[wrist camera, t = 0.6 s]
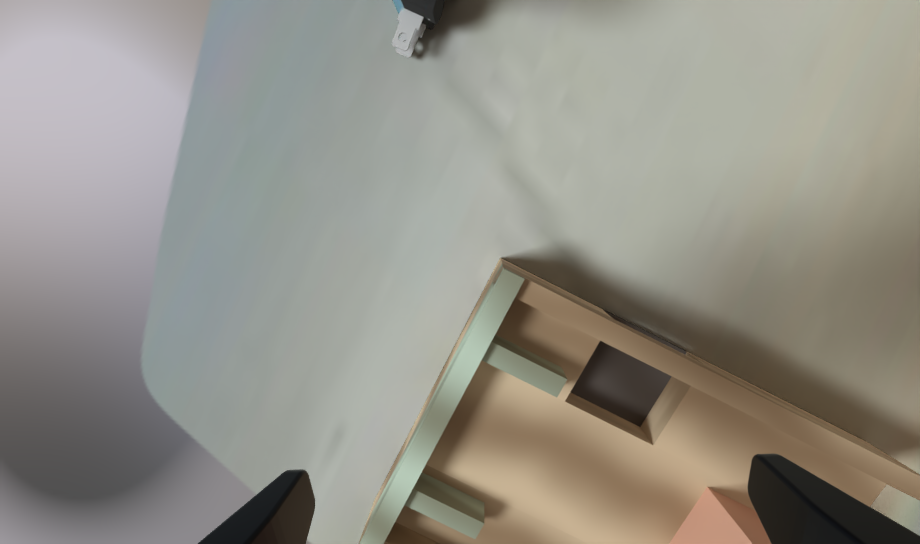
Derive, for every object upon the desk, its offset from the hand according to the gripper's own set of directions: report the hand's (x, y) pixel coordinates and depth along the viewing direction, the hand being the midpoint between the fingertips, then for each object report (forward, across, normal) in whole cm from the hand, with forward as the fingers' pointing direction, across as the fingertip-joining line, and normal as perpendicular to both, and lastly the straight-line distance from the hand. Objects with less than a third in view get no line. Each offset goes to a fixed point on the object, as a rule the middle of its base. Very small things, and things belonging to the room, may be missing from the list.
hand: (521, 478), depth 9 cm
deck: (+12, -5, +12) cm, 18 cm away
